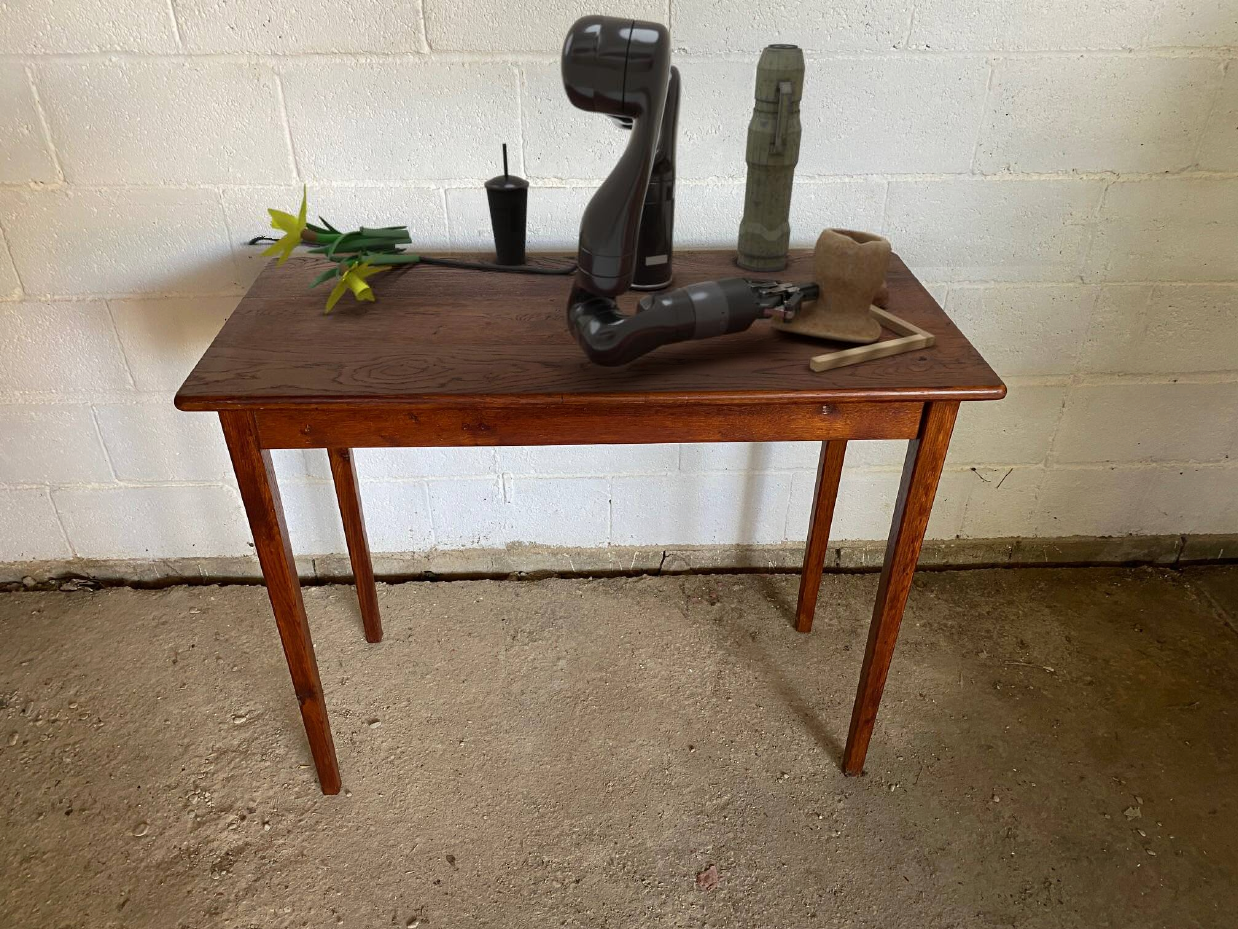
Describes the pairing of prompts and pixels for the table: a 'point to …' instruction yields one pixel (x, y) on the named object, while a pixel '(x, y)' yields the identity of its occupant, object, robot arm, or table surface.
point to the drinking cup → (508, 214)
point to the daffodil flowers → (342, 250)
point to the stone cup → (843, 287)
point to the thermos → (771, 158)
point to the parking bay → (911, 341)
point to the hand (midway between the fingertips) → (816, 290)
